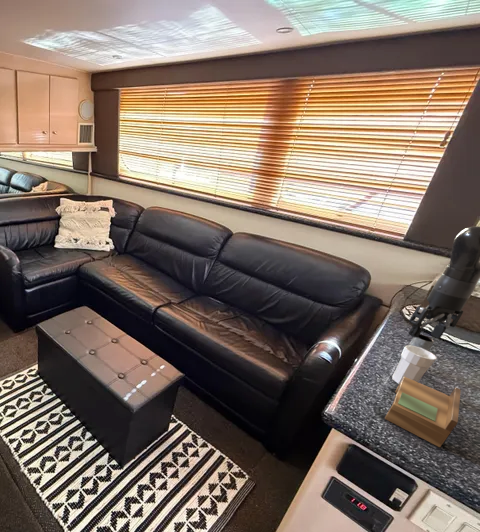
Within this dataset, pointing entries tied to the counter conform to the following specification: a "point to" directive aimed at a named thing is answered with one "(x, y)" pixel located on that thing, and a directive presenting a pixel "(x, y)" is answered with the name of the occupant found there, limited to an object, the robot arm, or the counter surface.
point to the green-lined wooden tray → (424, 411)
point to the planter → (422, 342)
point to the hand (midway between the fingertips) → (424, 336)
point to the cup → (413, 363)
